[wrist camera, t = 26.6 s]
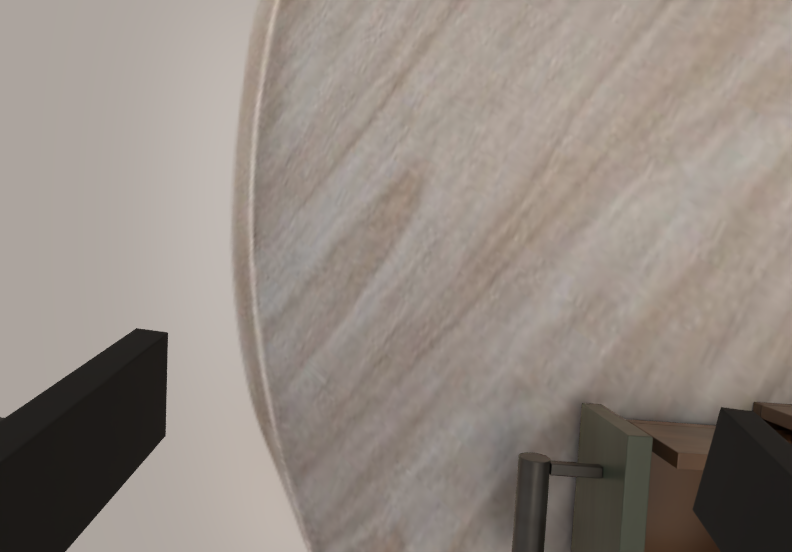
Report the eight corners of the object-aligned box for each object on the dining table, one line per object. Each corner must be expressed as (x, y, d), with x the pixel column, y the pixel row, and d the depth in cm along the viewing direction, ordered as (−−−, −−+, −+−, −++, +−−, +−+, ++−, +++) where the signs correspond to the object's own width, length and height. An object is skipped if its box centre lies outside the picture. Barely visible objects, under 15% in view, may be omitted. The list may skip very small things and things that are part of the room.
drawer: (494, 584, 35) (519, 661, 28) (507, 397, 35) (536, 429, 28) (797, 604, 35) (896, 686, 28) (812, 418, 35) (915, 455, 28)
